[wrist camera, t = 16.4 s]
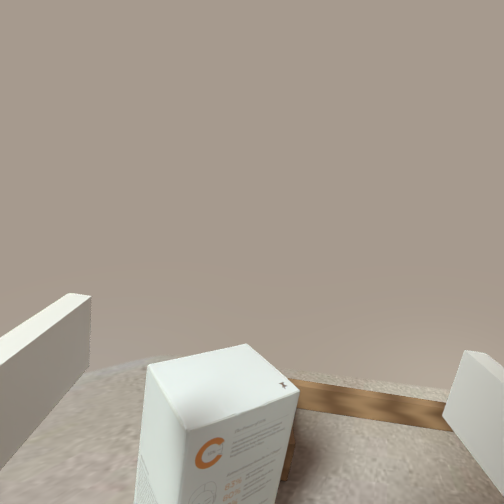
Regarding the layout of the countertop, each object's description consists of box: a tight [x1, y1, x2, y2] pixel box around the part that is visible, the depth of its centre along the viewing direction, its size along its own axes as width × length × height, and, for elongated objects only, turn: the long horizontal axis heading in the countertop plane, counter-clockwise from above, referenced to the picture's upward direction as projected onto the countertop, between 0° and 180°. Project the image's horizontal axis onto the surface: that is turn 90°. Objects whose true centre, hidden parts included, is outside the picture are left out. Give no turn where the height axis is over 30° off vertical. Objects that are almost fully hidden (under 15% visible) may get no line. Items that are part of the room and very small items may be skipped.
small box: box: [134, 344, 300, 504], centre depth 22 cm, size 8×6×13 cm
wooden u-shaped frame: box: [280, 378, 454, 481], centre depth 34 cm, size 30×11×10 cm, turn 90°
